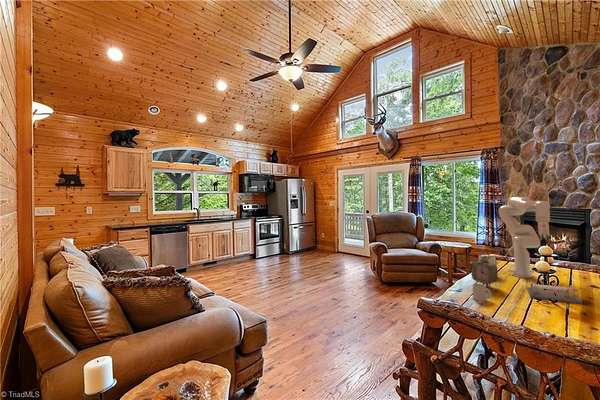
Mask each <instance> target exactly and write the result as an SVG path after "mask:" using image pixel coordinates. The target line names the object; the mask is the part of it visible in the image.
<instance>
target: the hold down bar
mask: <svg viewBox="0 0 600 400" xmlns="http://www.w3.org/2000/svg"><path fill="white" fill-rule="evenodd" d="M536 284H537V283H533V284H532V286H536V287H538V288H540V289H549V290H559V291H568V289H573V291H574V292H575V293H576V292H577V293H578V292H579V289H578V288H577V287H576V286H571V285H568V286H569V287H565V286H562V285H560V286H559V285H547V284H537V285H536Z"/></svg>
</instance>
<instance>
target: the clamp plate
mask: <svg viewBox="0 0 600 400" xmlns="http://www.w3.org/2000/svg"><path fill="white" fill-rule="evenodd" d="M532 284H534V283H532V282H531V283H530V286H527V287H526V291H527V293H528V295H529V298H530V299H537V298H538V299H537V300H545V301H546V300H547V301H550V300H549V299H553V300H557V301H556V302H561V303H569V304H578V305H583V300H582V299H581V298H580V297H579V296H578V295H577V293H576V292H575V291H573V289H568V291H564V290H553V289H547V290H544V289H541V288H538V287H536V286H532ZM535 284H536V285H538V284H537V283H535ZM569 286H570V285H567V284H566V285H565V286H564V287H569ZM554 293H555V294H556V296H555V295H554ZM553 300H552V301H553Z"/></svg>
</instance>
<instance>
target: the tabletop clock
mask: <svg viewBox="0 0 600 400" xmlns="http://www.w3.org/2000/svg"><path fill="white" fill-rule="evenodd" d="M482 254H485V255H488V257H489V255H490V254H489V253H487V252H485V251H480V252H479V253H478V256H479V255H480V256H481V255H482ZM481 257H482V256H481ZM488 257H485V256H483V257H482V259H481V260H480V261H479V260H478V261H477V260H476V261H474V262H473V261H472V262H471V267H470V272H471V279H472V280H474V281H475V282H474V283H473V284H478V283H479V284H483V285H485V286H486V287H488V286H489V287H488V289H489V290H492V289H493V288H492V287H491V284H494V283H497V281H498V278H499V276H498V274H499V271H498V265H497V263H496V264H494V263H491V262H488V260H487V259H486V258H488Z"/></svg>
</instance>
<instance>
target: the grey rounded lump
mask: <svg viewBox="0 0 600 400" xmlns="http://www.w3.org/2000/svg"><path fill="white" fill-rule="evenodd" d="M491 297H492V291H491V289H489V287H487V286H486V284H484V283H477V284H474V283H473V284H472V298H473V300H475V301H478V302H485V301H487V299H490V298H491Z"/></svg>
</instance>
